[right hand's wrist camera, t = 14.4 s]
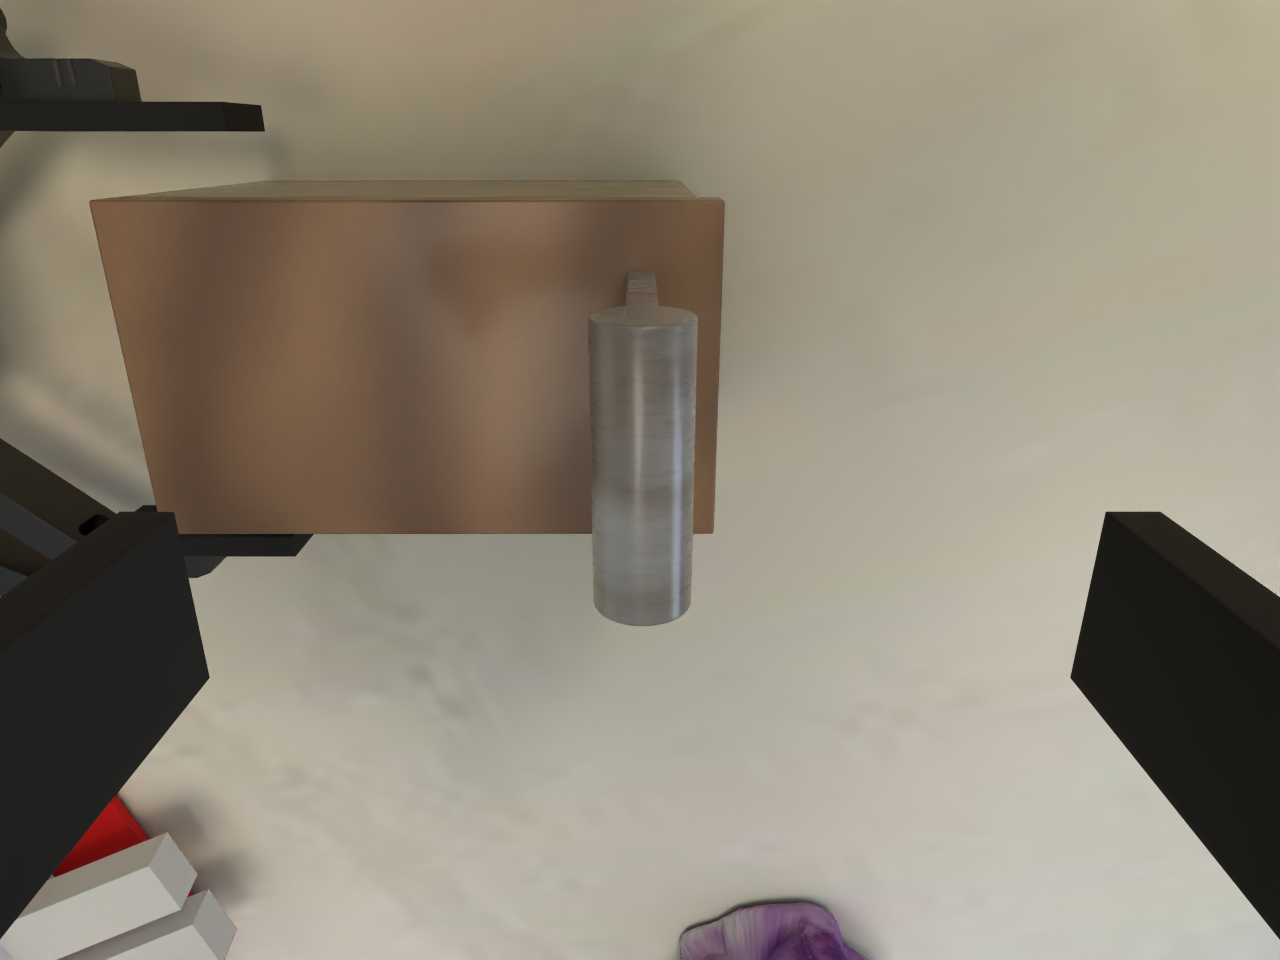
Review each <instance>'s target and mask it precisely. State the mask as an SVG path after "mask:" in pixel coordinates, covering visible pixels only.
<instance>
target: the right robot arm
mask: <svg viewBox="0 0 1280 960" xmlns="http://www.w3.org/2000/svg"><path fill="white" fill-rule="evenodd" d="M209 678H210V677H209V673H208V668H207V663H206V659H205V654H204V649H203V645H202V640H201V635H200V631H199V626H198V621H197V617H196V612H195V607H194V602H193V598H192V593H191V588H190V584H189V579H188V574H187V570H186V565H185V560H184V556H183V551H182V546H181V542H180V537H179V532H178V528H177V523H176V518H175V514H174V512H119V513H117V514H116V515H115V516H113V517H112V518H110V519H109V520H108V521H106V522H105V523H103V524H102V525H101V526H99V527H98V528H96V529H95V530H94V531H92V532H91V533H89V534H88V535H87V536H85V537H84V538H82V539H81V540H80V541H78V542H77V543H75V544H74V545H73V546H71V547H70V548H68V549H67V550H66V551H64V552H63V553H61V554H60V555H59V556H57V557H56V558H54V559H53V560H52V561H50V562H49V563H48V564H46V565H45V566H43V567H42V568H41V569H39V570H38V571H36V572H35V573H34V574H32V575H31V576H29V577H28V578H27V579H25V580H24V581H22V582H21V583H20V584H18V585H17V586H15V587H14V588H13V589H11V590H10V591H8V592H7V593H6V594H4V595H3V596H1V597H0V939H1V938H2V937H3V935H4V934H5V933H6V932H7V930H8V929H9V928H10V927H11V925H12V924H13V923H14V922H15V920H16V919H17V918H18V917H19V915H20V914H21V913H22V912H23V910H24V909H25V908H26V907H27V905H28V904H29V903H30V902H31V900H32V899H33V898H34V897H35V895H36V894H37V893H38V892H39V890H40V889H41V888H42V887H43V885H44V884H45V883H46V882H47V880H48V879H49V878H50V877H51V875H52V874H53V873H54V872H55V870H56V869H57V868H58V867H59V865H60V864H61V863H62V862H63V860H64V859H65V858H66V857H67V855H68V854H69V853H70V852H71V850H72V849H73V848H74V847H75V845H76V844H77V843H78V842H79V840H80V839H81V838H82V837H83V835H84V834H85V833H86V832H87V830H88V829H89V828H90V827H91V825H92V824H93V823H94V822H95V820H96V819H97V818H98V817H99V815H100V814H101V813H102V812H103V810H104V809H105V808H106V807H107V805H108V804H109V803H110V802H111V800H112V799H113V798H114V797H115V795H116V794H117V793H118V792H119V790H120V789H121V788H122V787H123V785H124V784H125V783H126V782H127V780H128V779H129V778H130V777H131V775H132V774H133V773H134V772H135V770H136V769H137V768H138V767H139V765H140V764H141V763H142V762H143V760H144V759H145V758H146V757H147V755H148V754H149V753H150V752H151V750H152V749H153V748H154V747H155V745H156V744H157V743H158V742H159V740H160V739H161V738H162V737H163V735H164V734H165V733H166V732H167V730H168V729H169V728H170V727H171V725H172V724H173V723H174V722H175V720H176V719H177V718H178V717H179V715H180V714H181V713H182V712H183V710H184V709H185V708H186V707H187V705H188V704H189V703H190V702H191V700H192V699H193V698H194V697H195V695H196V694H197V693H198V692H199V690H200V689H201V688H202V687H203V685H204V684H205V683H206V682H207V680H208V679H209ZM1070 678H1071V679H1072V680H1073V682H1074V683H1075V684H1076V685H1077V687H1078V688H1079V689H1080V690H1081V692H1082V693H1083V694H1084V695H1085V697H1086V698H1087V699H1088V700H1089V702H1090V703H1091V704H1092V705H1093V707H1094V708H1095V709H1096V710H1097V712H1098V713H1099V714H1100V715H1101V717H1102V718H1103V719H1104V720H1105V722H1106V723H1107V724H1108V725H1109V727H1110V728H1111V729H1112V730H1113V732H1114V733H1115V734H1116V735H1117V737H1118V738H1119V739H1120V740H1121V742H1122V743H1123V744H1124V745H1125V747H1126V748H1127V749H1128V750H1129V752H1130V753H1131V754H1132V755H1133V757H1134V758H1135V759H1136V760H1137V762H1138V763H1139V764H1140V765H1141V767H1142V768H1143V769H1144V770H1145V772H1146V773H1147V774H1148V775H1149V777H1150V778H1151V779H1152V780H1153V782H1154V783H1155V784H1156V785H1157V787H1158V788H1159V789H1160V790H1161V792H1162V793H1163V794H1164V795H1165V797H1166V798H1167V799H1168V800H1169V802H1170V803H1171V804H1172V805H1173V807H1174V808H1175V809H1176V810H1177V812H1178V813H1179V814H1180V815H1181V817H1182V818H1183V819H1184V820H1185V822H1186V823H1187V824H1188V825H1189V827H1190V828H1191V829H1192V830H1193V832H1194V833H1195V834H1196V835H1197V837H1198V838H1199V839H1200V840H1201V842H1202V843H1203V844H1204V845H1205V847H1206V848H1207V849H1208V850H1209V852H1210V853H1211V854H1212V855H1213V857H1214V858H1215V859H1216V860H1217V862H1218V863H1219V864H1220V865H1221V867H1222V868H1223V869H1224V870H1225V872H1226V873H1227V874H1228V875H1229V877H1230V878H1231V879H1232V880H1233V882H1234V883H1235V884H1236V885H1237V887H1238V888H1239V889H1240V890H1241V892H1242V893H1243V894H1244V895H1245V897H1246V898H1247V899H1248V900H1249V902H1250V903H1251V904H1252V905H1253V907H1254V908H1255V909H1256V910H1257V912H1258V913H1259V914H1260V915H1261V917H1262V918H1263V919H1264V920H1265V922H1266V923H1267V924H1268V925H1269V927H1270V928H1271V929H1272V930H1273V932H1274V933H1275V934H1276V935H1277V937H1278V938H1279V939H1280V597H1279V596H1277V595H1276V594H1274V593H1273V592H1272V591H1270V590H1269V589H1267V588H1266V587H1265V586H1263V585H1262V584H1260V583H1259V582H1258V581H1256V580H1255V579H1253V578H1252V577H1251V576H1249V575H1248V574H1246V573H1245V572H1244V571H1242V570H1241V569H1239V568H1238V567H1237V566H1235V565H1234V564H1232V563H1231V562H1230V561H1228V560H1227V559H1226V558H1224V557H1223V556H1221V555H1220V554H1219V553H1217V552H1216V551H1214V550H1213V549H1212V548H1210V547H1209V546H1207V545H1206V544H1205V543H1203V542H1202V541H1200V540H1199V539H1198V538H1196V537H1195V536H1193V535H1192V534H1191V533H1189V532H1188V531H1186V530H1185V529H1184V528H1182V527H1181V526H1179V525H1178V524H1177V523H1175V522H1174V521H1172V520H1171V519H1170V518H1168V517H1167V516H1165V515H1164V514H1163V513H1161V512H1106V514H1105V518H1104V523H1103V528H1102V532H1101V537H1100V542H1099V546H1098V551H1097V556H1096V560H1095V565H1094V570H1093V574H1092V579H1091V584H1090V588H1089V593H1088V598H1087V602H1086V607H1085V612H1084V617H1083V621H1082V626H1081V631H1080V635H1079V640H1078V645H1077V649H1076V654H1075V659H1074V663H1073V668H1072V673H1071V677H1070Z"/></svg>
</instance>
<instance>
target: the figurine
mask: <svg viewBox="0 0 1280 960" xmlns="http://www.w3.org/2000/svg"><path fill="white" fill-rule="evenodd" d="M680 948H681V950H680V951H681V952H682V953H681V957H680V958H681V959H682V960H869V959H868V958H866V957H865V956H863V955H862V954H860V953H858V952H856V951H854V950H853V949H851V948H850V947H848V946H847V945H846V944H844V943H843V941H842V939H841V934H840V931H839V928H838V925H837V922H836V920H835V918H834V917H833V915H832V914H831V913H829V912H828V911H827V910H826V909H823V908H821V907H819V906H816V905H814V904H812V903H809V902H803V901H801V902H796V903H782V904H766V905H757V906H752V907H747V908H739V909H738V910H736V911H735V912H732V913H730V914H728V915H726V916H724V917H723V918H721V919H720V920H719V921H715V922H712V923H710V924H704V925H703V926H697V927H696V928H694V929H692V930H689V931H687V932H685V933H684V934H683V936H682V939H681V940H680Z"/></svg>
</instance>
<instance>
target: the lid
mask: <svg viewBox="0 0 1280 960" xmlns="http://www.w3.org/2000/svg"><path fill="white" fill-rule="evenodd" d="M89 203H90V208H91V212H92V217H93V221H94V226H95V230H96V235H97V240H98V244H99V249H100V253H101V258H102V262H103V267H104V271H105V276H106V280H107V285H108V289H109V294H110V298H111V303H112V307H113V312H114V316H115V321H116V325H117V330H118V334H119V339H120V344H121V348H122V353H123V357H124V362H125V366H126V371H127V375H128V380H129V384H130V389H131V393H132V398H133V402H134V407H135V411H136V416H137V420H138V425H139V429H140V434H141V438H142V443H143V448H144V452H145V457H146V461H147V466H148V470H149V475H150V479H151V484H152V488H153V493H154V497H155V502H156V506H157V511H158V512H174V514H175V518H176V523H177V528H178V532H179V534H592V541H593V586H594V604H595V607H596V608H597V610H598V611H599V612H600V614H602V615H603V616H604V617H606V618H608V619H610V620H612V621H615V622H617V623H621V624H626V625H633V626H652V625H659V624H664V623H668V622H670V621H673V620H675V619H677V618H679V617H681V616H682V615H683V614H684V613H685V612H686V611H687V610H688V608H689V606H690V604H691V578H692V537H693V534H711V533H713V532H714V506H715V476H716V447H717V418H718V388H719V359H720V329H721V300H722V271H723V241H724V212H725V202H724V200H722V199H721V198H719V197H562V198H107V199H98V200H91V201H90V202H89Z"/></svg>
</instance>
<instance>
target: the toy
mask: <svg viewBox="0 0 1280 960" xmlns="http://www.w3.org/2000/svg"><path fill="white" fill-rule="evenodd" d="M197 875H198V874H197V872H196V871H195V870H194V868H193V867H192V865H191V864H190V863H189V861H188V860H187V858H186V857H185V856H184V854H183V853H182V852H181V850H180V849H179V847H178V846H177V845H176V843H175V842H174V841H173V839H172V838H171V836H170V835H169V834H168V832H167V833H164V834H162V835H159V836H157V837H154V838H152V839H149V838H148V836H147V835H146V834H145V833H144V831H143V830H142V829H141V827H140V826H139V825H138V824H137V822H136V821H135V820H134V818H133V817H132V816H131V815H130V813H129V812H128V811H127V809H126V808H125V807H124V806H123V804H122V803H121V802H120V800H119V799H118V798H117V797H116V795H115V797H114V798H113V799H112V800H111V802H110V803H109V804H108V805H107V807H106V808H105V809H104V810H103V812H102V813H101V814H100V815H99V817H98V818H97V819H96V820H95V822H94V823H93V824H92V825H91V827H90V828H89V829H88V830H87V832H86V833H85V834H84V835H83V837H82V838H81V839H80V840H79V842H78V843H77V844H76V845H75V847H74V848H73V849H72V850H71V852H70V853H69V854H68V855H67V857H66V858H65V859H64V860H63V862H62V863H61V864H60V865H59V867H58V868H57V869H56V870H55V872H54V873H53V874H52V875H51V877H50V878H49V879H48V880H47V882H46V883H45V884H44V885H43V887H42V888H41V889H40V890H39V892H38V893H37V894H36V895H35V897H34V898H33V899H32V900H31V902H30V903H29V904H28V905H27V907H26V908H25V909H24V910H23V912H22V913H21V914H20V915H19V917H18V918H17V919H16V920H15V922H14V923H13V924H12V925H11V927H10V928H9V929H8V930H7V932H6V933H5V934H4V935H3V937H2V938H1V939H0V960H225V958H226V956H227V953H228V951H229V948H230V945H231V943H232V940H233V938H234V935H235V932H236V930H237V928H236V926H235V925H234V923H233V922H232V921H231V919H230V918H229V916H228V915H227V914H226V912H225V911H224V910H223V908H222V907H221V905H220V904H219V903H218V901H217V900H216V899H215V897H214V896H213V894H212V893H211V892H210V890H209V889H207V890H204V891H202V892H199V893H197V894H194V895H193V894H192V893H191V892H190V890H191V887H192V885H193V883H194V881H195V879H196V877H197Z"/></svg>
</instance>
